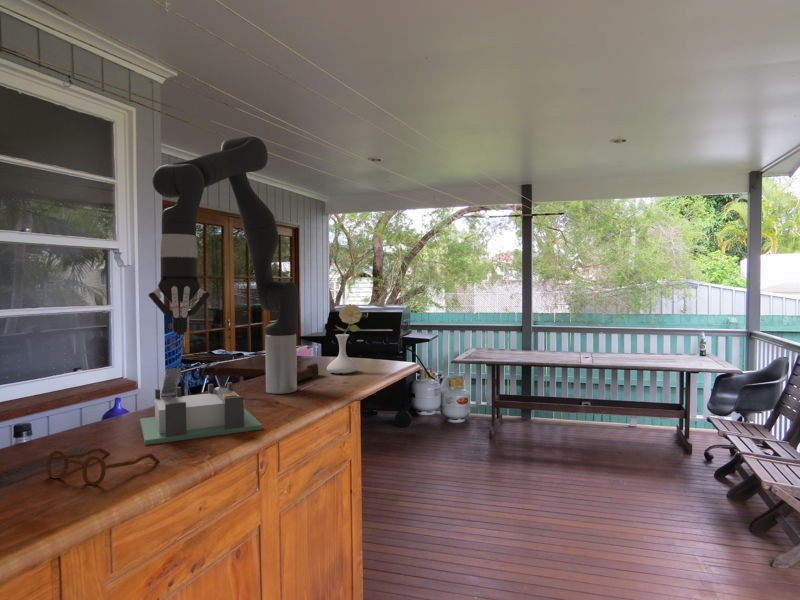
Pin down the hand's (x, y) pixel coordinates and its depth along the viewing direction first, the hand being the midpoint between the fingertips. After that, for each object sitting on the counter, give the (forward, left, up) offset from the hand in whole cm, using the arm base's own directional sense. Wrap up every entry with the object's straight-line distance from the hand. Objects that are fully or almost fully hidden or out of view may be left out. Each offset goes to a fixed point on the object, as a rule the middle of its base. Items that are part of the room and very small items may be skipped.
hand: (179, 334), depth 118 cm
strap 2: (-3, +10, -16) cm, 20 cm away
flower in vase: (-53, +61, -22) cm, 83 cm away
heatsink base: (-4, +4, -22) cm, 23 cm away
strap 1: (-4, -2, -13) cm, 13 cm away
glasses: (+18, -15, -22) cm, 32 cm away
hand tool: (-47, +43, -22) cm, 68 cm away
